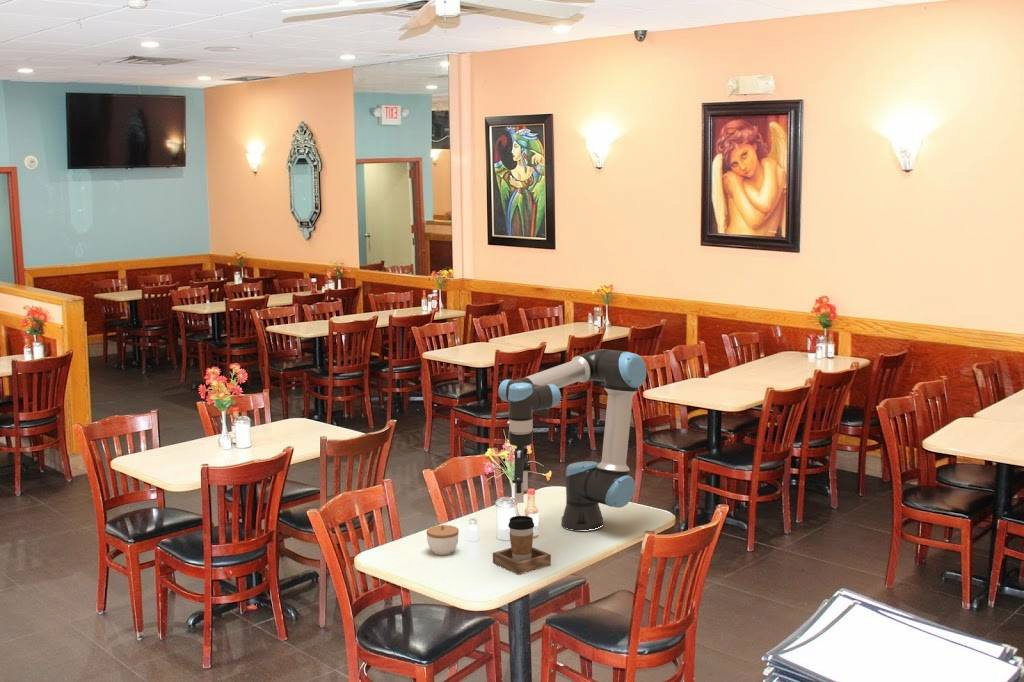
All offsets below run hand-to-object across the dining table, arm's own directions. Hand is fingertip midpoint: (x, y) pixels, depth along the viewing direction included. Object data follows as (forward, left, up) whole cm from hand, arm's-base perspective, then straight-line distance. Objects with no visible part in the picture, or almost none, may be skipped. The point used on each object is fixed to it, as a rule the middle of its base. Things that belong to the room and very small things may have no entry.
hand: (521, 496), depth 338 cm
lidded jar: (+13, -26, -23) cm, 37 cm away
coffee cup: (0, 0, -22) cm, 22 cm away
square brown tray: (0, 0, -23) cm, 23 cm away
